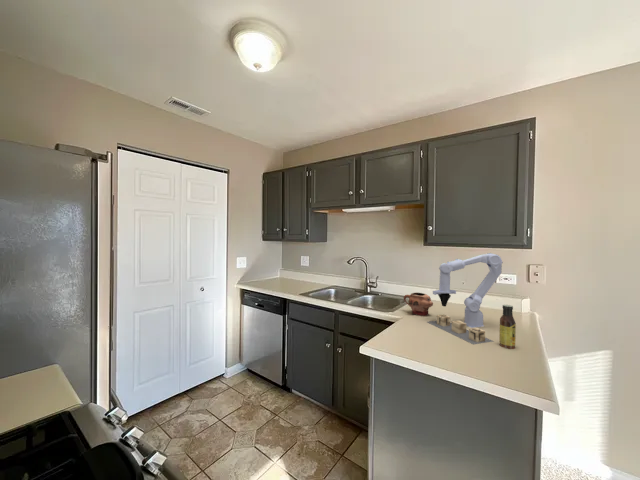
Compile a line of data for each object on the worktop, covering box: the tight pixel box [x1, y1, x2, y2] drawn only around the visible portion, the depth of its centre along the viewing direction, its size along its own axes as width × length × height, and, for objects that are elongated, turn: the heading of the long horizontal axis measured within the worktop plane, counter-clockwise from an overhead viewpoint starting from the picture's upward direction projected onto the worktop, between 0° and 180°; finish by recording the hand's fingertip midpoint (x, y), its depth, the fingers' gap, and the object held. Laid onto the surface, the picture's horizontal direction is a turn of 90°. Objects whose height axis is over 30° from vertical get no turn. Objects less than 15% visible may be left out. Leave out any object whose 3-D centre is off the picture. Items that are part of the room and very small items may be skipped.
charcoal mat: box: [426, 320, 494, 345], centre depth 147 cm, size 13×34×1 cm, turn 17°
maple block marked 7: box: [468, 327, 486, 342], centre depth 134 cm, size 5×5×5 cm
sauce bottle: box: [498, 304, 517, 350], centre depth 127 cm, size 6×6×20 cm
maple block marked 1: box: [436, 313, 451, 326], centre depth 156 cm, size 5×5×5 cm
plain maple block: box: [451, 320, 467, 334], centre depth 145 cm, size 5×5×5 cm
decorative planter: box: [403, 292, 434, 317], centre depth 178 cm, size 20×12×14 cm, turn 51°
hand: (443, 306), depth 160 cm, fingers closed
